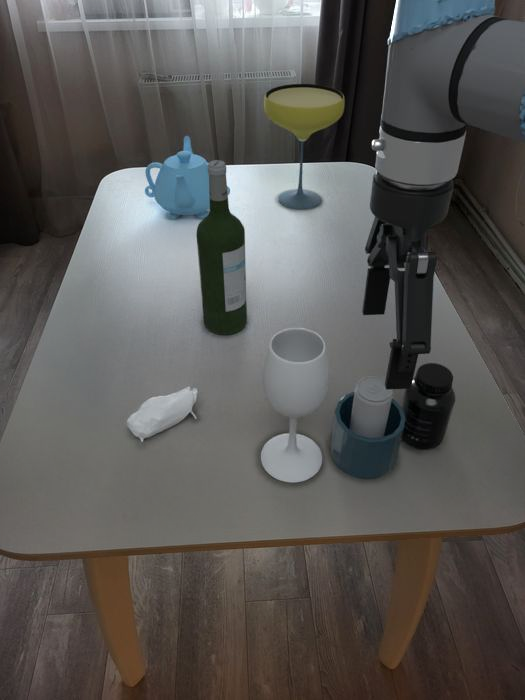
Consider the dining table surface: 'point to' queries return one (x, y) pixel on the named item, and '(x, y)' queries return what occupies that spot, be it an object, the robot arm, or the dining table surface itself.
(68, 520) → the dining table surface
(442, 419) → the supplement bottle
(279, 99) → the cocktail glass
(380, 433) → the beverage can
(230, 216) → the wine bottle
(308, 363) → the wineglass
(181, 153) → the teapot
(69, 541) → the dining table surface
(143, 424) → the white oblong lump
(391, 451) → the cup
